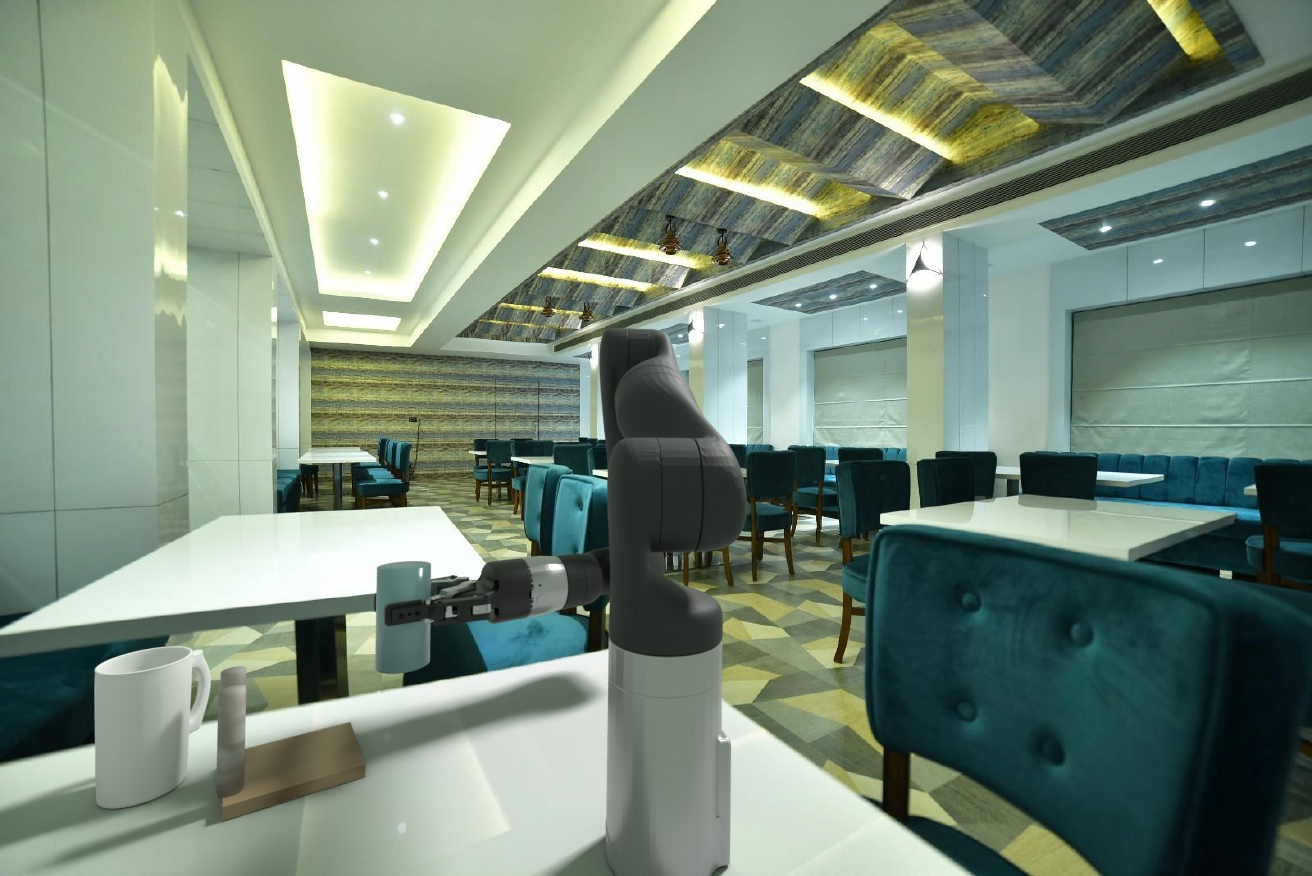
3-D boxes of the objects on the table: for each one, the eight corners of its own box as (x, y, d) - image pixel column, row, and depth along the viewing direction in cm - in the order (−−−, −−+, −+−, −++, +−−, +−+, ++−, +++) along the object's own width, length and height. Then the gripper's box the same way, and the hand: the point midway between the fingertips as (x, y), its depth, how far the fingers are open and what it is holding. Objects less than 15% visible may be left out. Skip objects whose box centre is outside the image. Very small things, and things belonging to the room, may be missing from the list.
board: (350, 732, 62) (351, 641, 62) (365, 776, 54) (367, 671, 54) (219, 767, 55) (221, 664, 55) (214, 823, 47) (216, 703, 47)
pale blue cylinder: (432, 653, 66) (433, 559, 66) (426, 670, 60) (428, 569, 61) (380, 657, 64) (382, 562, 65) (370, 676, 59) (371, 572, 59)
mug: (137, 815, 48) (140, 676, 48) (69, 808, 49) (72, 672, 49) (237, 751, 58) (239, 636, 58) (179, 746, 59) (181, 633, 59)
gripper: (503, 550, 77) (368, 564, 67) (548, 567, 65) (393, 587, 55) (502, 604, 77) (366, 626, 67) (548, 631, 65) (391, 663, 55)
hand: (379, 609), depth 61 cm, fingers closed on pale blue cylinder, 5 cm apart
